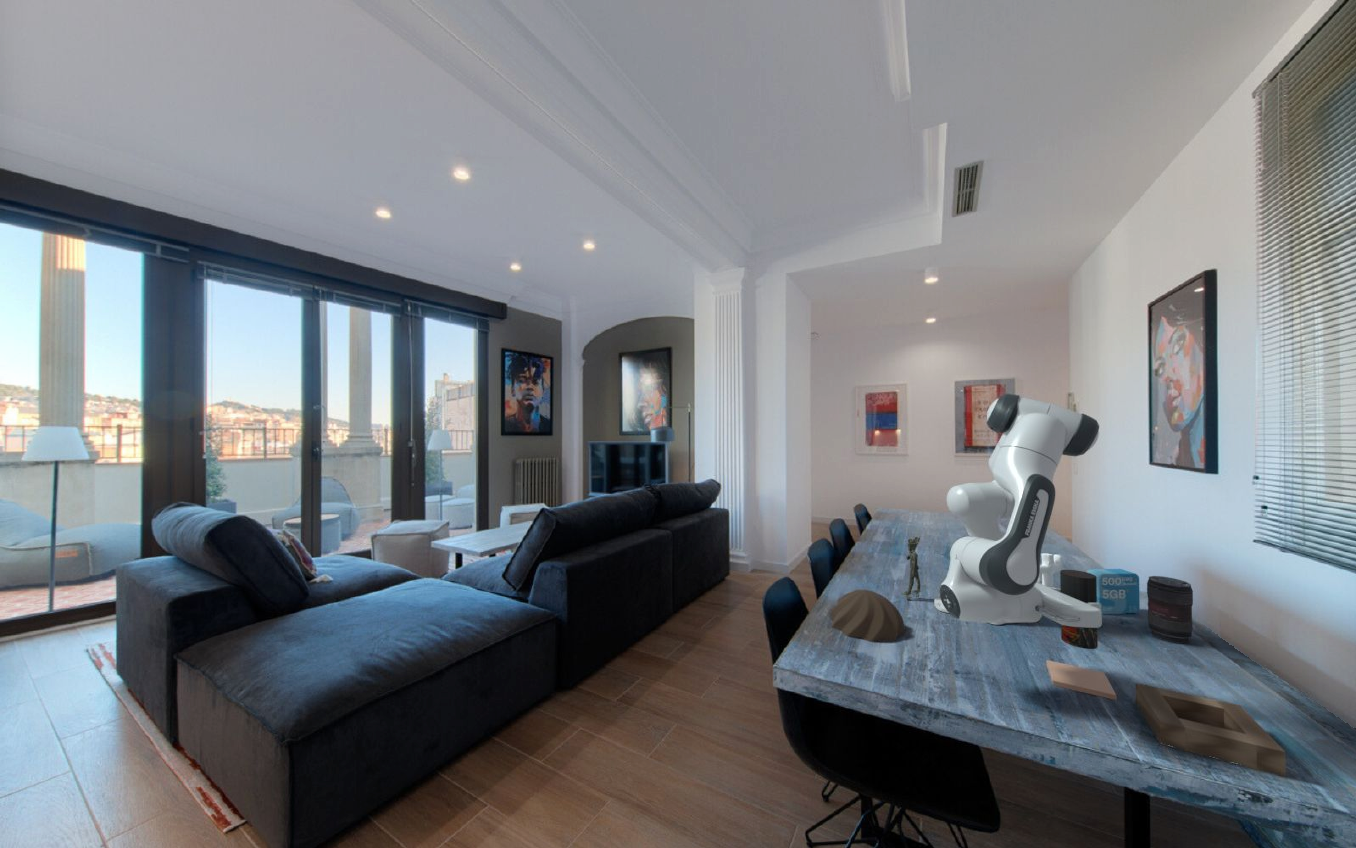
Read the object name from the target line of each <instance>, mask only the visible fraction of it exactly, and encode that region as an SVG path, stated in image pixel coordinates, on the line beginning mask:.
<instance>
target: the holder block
mask: <svg viewBox="0 0 1356 848" xmlns="http://www.w3.org/2000/svg"><path fill="white" fill-rule="evenodd" d="M1134 692H1135V693H1134V694H1135V696H1134V697H1135V699H1134V700H1135V701H1134V702H1135V704H1136V706H1137V707H1138V709H1139V711H1140V712H1141V714H1142V715H1143V717H1144V719H1145V720H1146V722H1147V724H1148V726H1149V727H1150V729H1151V730H1152V733H1153V734H1154V736H1155V735H1156V736H1155V737H1156V739H1157V738H1158V739H1157V740H1159V741H1160V742H1159V741H1158V742H1159V744H1160V743H1162V744H1165V745H1170V746H1173V747H1175V748H1174V749H1177V748H1179V749H1178V750H1181V749H1182V750H1181V751H1185V752H1188V751H1190V752H1189V753H1192V754H1196V755H1200V756H1203V755H1204V756H1203V757H1207V756H1211V757H1215V758H1218V759H1220V760H1219V761H1222V760H1223V761H1222V762H1226V761H1229V762H1228V763H1230V762H1234V763H1238V764H1241V765H1244V766H1243V767H1245V768H1249V767H1251V768H1250V769H1252V768H1254V769H1253V770H1256V771H1260V772H1264V773H1267V774H1268V773H1269V774H1272V775H1276V776H1279V777H1283V778H1286V777H1287V766H1286V765H1287V764H1286V763H1287V761H1286V755H1287V754H1286V750H1284V749H1283V748H1282V747H1281V746H1280V745H1279V744H1278V743H1277V742H1276V741H1275V740H1274V739H1273V737H1272V736H1270V734H1269V733H1268V732H1267V731H1266V730H1265V729H1264V728H1263V727H1262V726H1261V725H1260V724H1259V723H1258V721H1256V720H1255V718H1253V717H1252V716H1251V715H1250V713H1248V712H1247V711H1246V710H1245V708H1244V707H1243V706H1242V705H1240V704H1236V703H1231V702H1226V701H1222V700H1216V699H1213V698H1208V697H1203V696H1199V695H1193V694H1190V693H1184V692H1180V691H1174V690H1171V689H1168V688H1167V689H1165V688H1161V687H1157V686H1154V685H1153V686H1152V685H1147V684H1144V683H1139V682H1134ZM1162 744H1161V745H1162ZM1165 745H1164V746H1165ZM1173 747H1172V748H1173ZM1211 757H1210V758H1211ZM1215 758H1214V759H1215ZM1218 759H1217V760H1218ZM1234 763H1233V764H1234ZM1241 765H1240V766H1241Z"/></svg>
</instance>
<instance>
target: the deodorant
mask: <svg viewBox="0 0 1356 848" xmlns="http://www.w3.org/2000/svg"><path fill="white" fill-rule="evenodd" d="M1059 573H1060V574H1059V577H1060V578H1059V580H1060V581H1059V582H1060V583H1059V584H1060V588H1059V589H1061V593H1063V594H1066V595H1068V596H1070V597H1073V598H1075V599H1077V600H1080V601H1082V602H1084V603H1087V601H1094V602H1097V580H1096V576H1095V575H1093V574H1091V573H1087V571H1081V570H1078V569H1077V570H1076V569H1062V570H1061V571H1060V572H1059ZM1060 634H1061V637H1060V638H1061V640H1062V641H1063V642H1064V643H1066V644H1067V645H1070V646H1073V647H1077V648H1081V649H1085V650H1095V649H1096V650H1097V648H1098V645H1099V644H1098V640H1099V639H1098V628H1085V627H1071V626H1066V625H1062V624H1060Z"/></svg>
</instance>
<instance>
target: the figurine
mask: <svg viewBox="0 0 1356 848" xmlns="http://www.w3.org/2000/svg"><path fill="white" fill-rule="evenodd" d="M1040 558H1041V564H1040V573H1039V578H1038V580H1037V583H1040V584H1042V585H1044V586H1047V587H1052V588H1055V586H1054V581H1055V580H1054V574H1055V573H1056V574H1058V573H1060V571H1061V570H1063V557H1062V556H1061V555H1060V554H1051V553H1046V552H1045V553H1044V552H1043V553H1042V552H1041V554H1040Z"/></svg>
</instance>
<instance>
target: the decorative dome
mask: <svg viewBox="0 0 1356 848" xmlns="http://www.w3.org/2000/svg"><path fill="white" fill-rule="evenodd" d="M829 618H830V620H831V621H832V624H831V628H833V629H835V630H838V631H840V632H841V633H842V634H844V636H846V637H848V638H856V639H857V638H858V639H861V640H864V641H866V642H870V643H875V642H880V641H884V642H885V641H887V642H896V640H897V637H901V636H904V635H906V629H905V624H904V619H903V617H902V614H901V613H900V611H899V610H898V608H897V607H896V606H895V605H894V604H893V602H891V601H890V600H889V599H887V598H886V597H885V596H883V595H881V594H879V593H877V592H875V591H873V590H870V589H869V590H868V589H855V590H853V591H850V592H848V593H846V594H843V595H842V596H840V598H839V599H837V602H836V605H835V606H834V607H833V608H832V609H830V613H829Z"/></svg>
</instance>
